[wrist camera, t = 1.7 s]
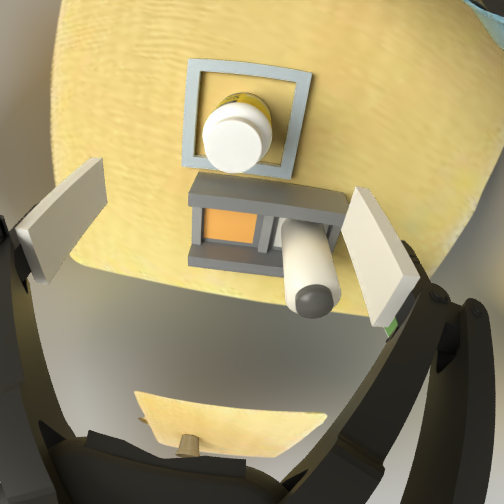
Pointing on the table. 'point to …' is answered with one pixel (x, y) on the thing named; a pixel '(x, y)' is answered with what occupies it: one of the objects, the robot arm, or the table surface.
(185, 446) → the flower pot
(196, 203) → the grey cubby shelf
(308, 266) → the white thermos bottle
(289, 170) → the grey square frame
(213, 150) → the supplement bottle
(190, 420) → the table surface
